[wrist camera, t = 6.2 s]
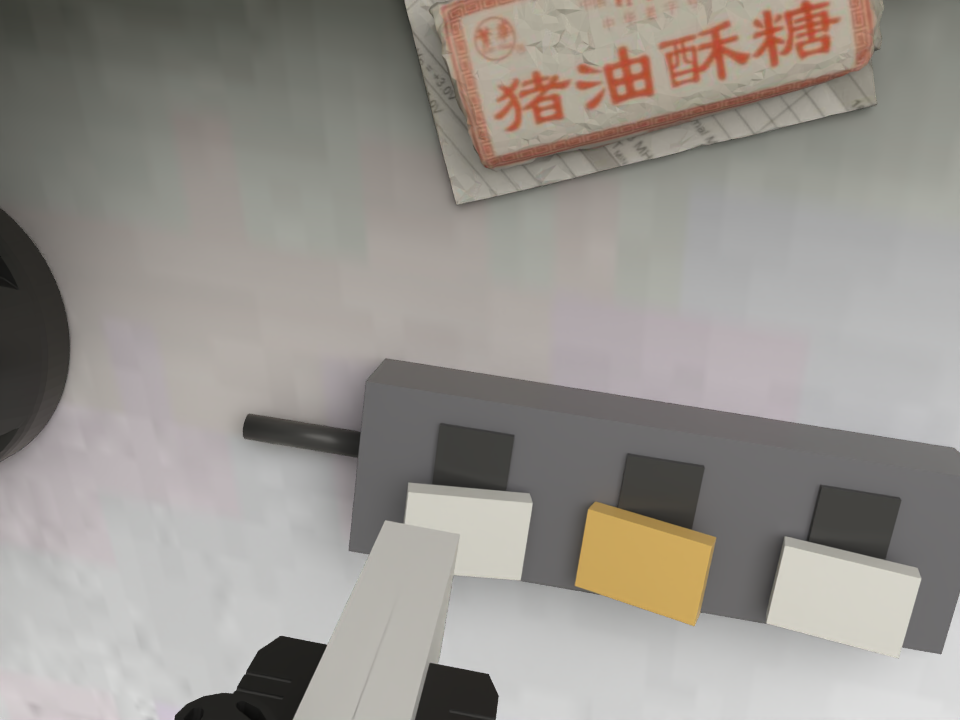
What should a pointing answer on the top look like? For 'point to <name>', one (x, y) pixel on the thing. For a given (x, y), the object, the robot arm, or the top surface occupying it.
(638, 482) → the power strip
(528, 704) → the top surface
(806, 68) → the packaged product
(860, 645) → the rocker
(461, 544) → the white box
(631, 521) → the yellow box
